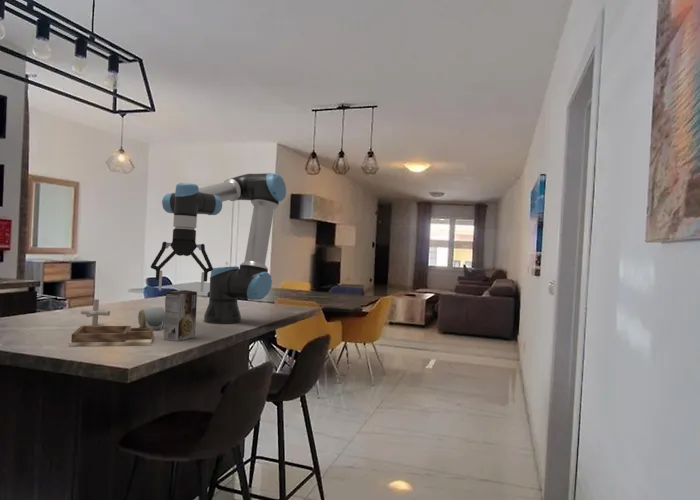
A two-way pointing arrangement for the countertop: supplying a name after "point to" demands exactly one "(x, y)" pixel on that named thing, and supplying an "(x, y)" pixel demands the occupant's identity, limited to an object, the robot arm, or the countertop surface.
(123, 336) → the board
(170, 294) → the coffee box
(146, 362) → the countertop surface
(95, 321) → the pipe connector
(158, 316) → the ceramic mug
